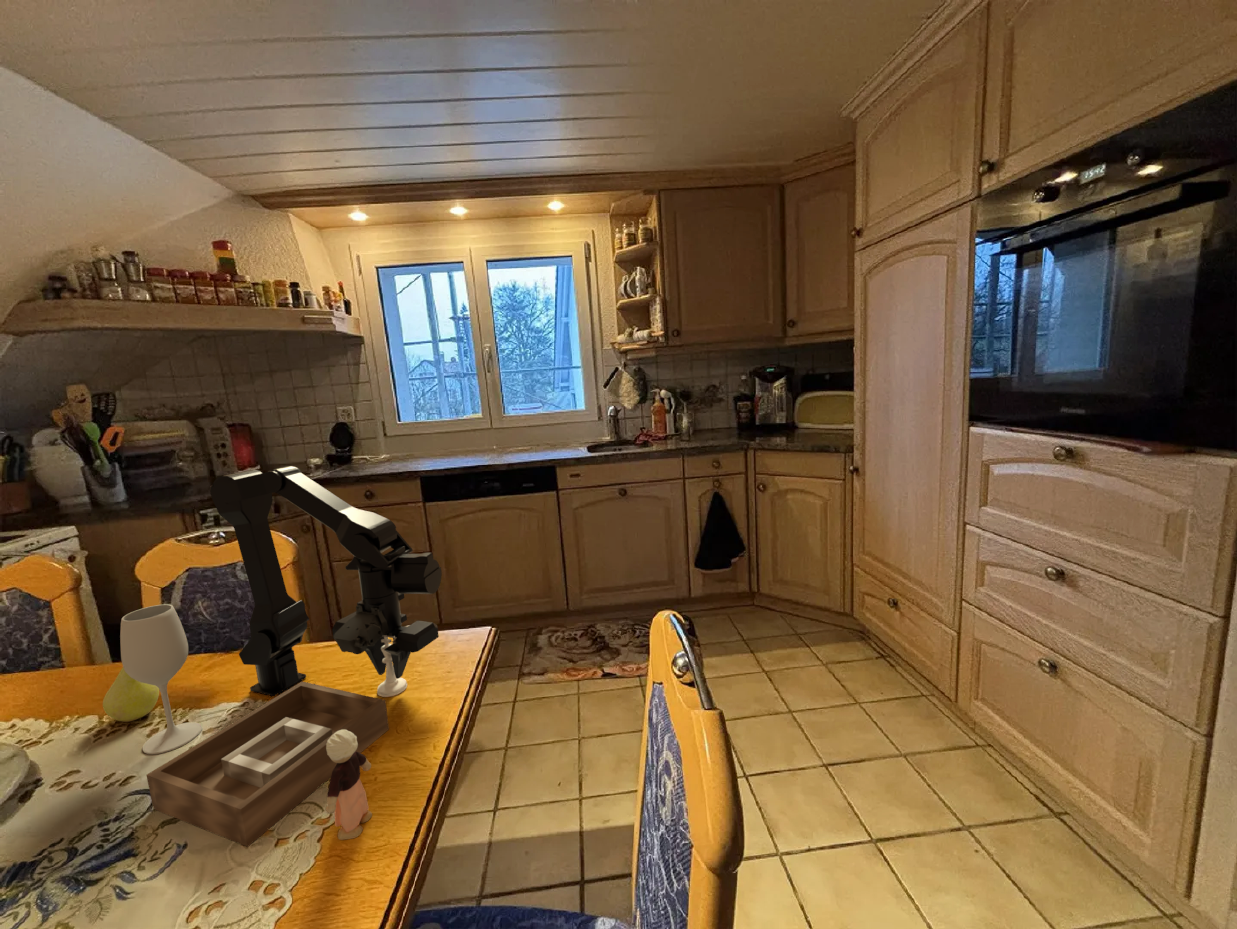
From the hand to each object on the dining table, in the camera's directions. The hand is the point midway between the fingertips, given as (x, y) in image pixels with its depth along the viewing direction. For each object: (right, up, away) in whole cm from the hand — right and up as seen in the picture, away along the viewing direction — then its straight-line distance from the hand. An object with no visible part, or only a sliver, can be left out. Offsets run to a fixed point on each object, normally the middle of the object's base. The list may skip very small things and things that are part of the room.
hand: (390, 675), depth 93 cm
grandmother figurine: (+8, -7, -29) cm, 31 cm away
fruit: (-41, -5, -4) cm, 42 cm away
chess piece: (0, -3, 0) cm, 3 cm away
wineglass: (-30, -6, -10) cm, 32 cm away
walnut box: (-8, -6, -18) cm, 20 cm away
